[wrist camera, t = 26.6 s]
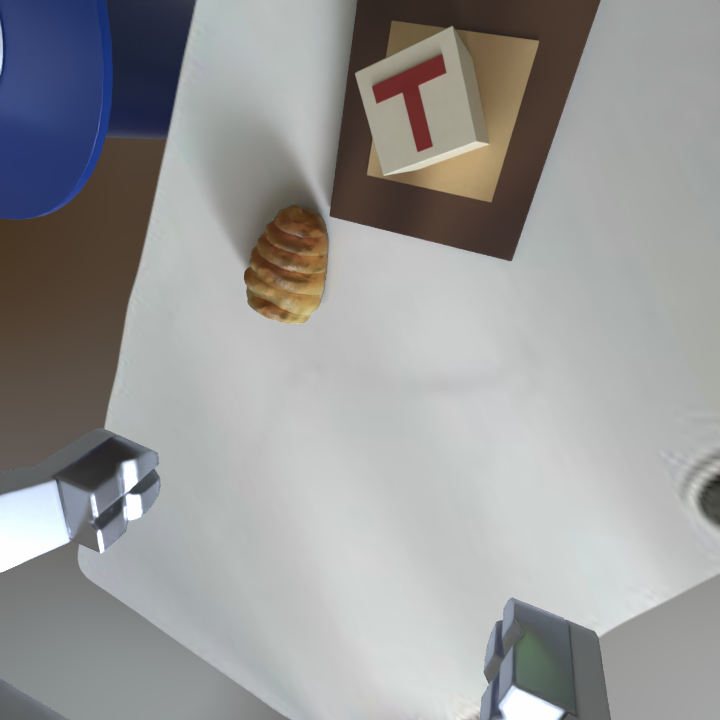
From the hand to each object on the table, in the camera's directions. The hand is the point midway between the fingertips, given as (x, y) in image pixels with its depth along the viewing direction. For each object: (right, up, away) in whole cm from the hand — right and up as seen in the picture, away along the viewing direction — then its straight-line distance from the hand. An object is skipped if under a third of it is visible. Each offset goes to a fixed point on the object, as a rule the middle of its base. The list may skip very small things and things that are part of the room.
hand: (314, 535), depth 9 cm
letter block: (+6, +20, +19) cm, 28 cm away
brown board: (+7, +20, +20) cm, 29 cm away
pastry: (-5, +12, +28) cm, 31 cm away
